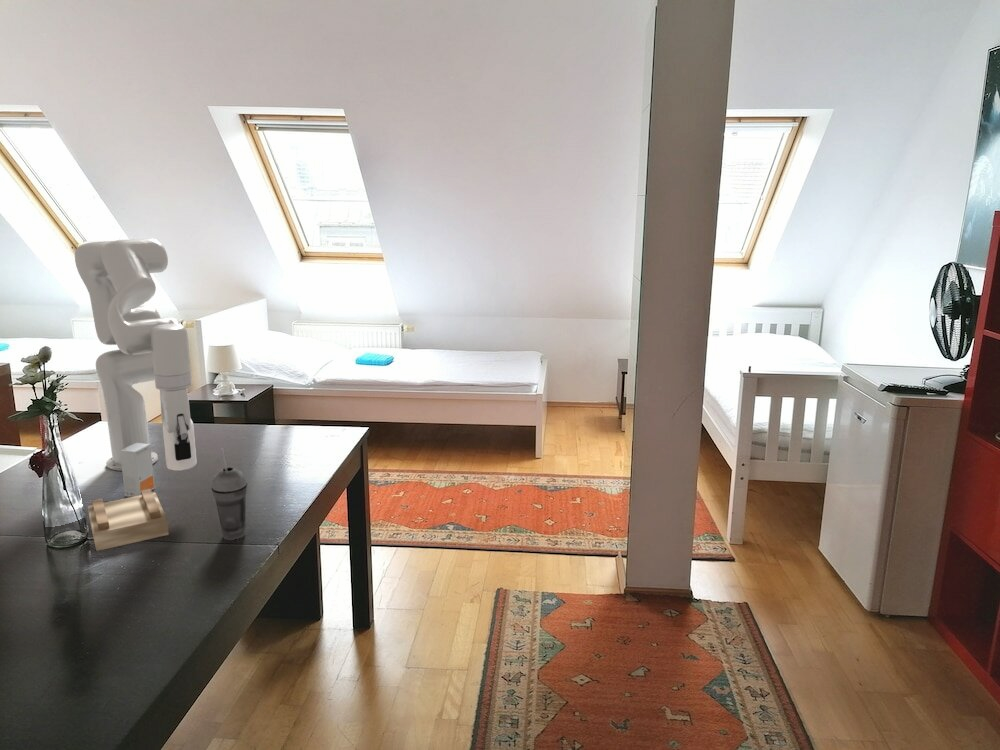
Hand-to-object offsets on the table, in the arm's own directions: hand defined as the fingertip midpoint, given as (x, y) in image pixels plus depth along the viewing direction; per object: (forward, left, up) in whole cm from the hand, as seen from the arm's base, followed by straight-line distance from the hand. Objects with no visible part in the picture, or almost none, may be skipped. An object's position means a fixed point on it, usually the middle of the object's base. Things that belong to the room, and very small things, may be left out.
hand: (180, 453), depth 169 cm
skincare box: (-16, -8, -14) cm, 23 cm away
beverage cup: (+20, +6, -14) cm, 25 cm away
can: (0, 0, -3) cm, 3 cm away
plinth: (+4, -13, -14) cm, 19 cm away
